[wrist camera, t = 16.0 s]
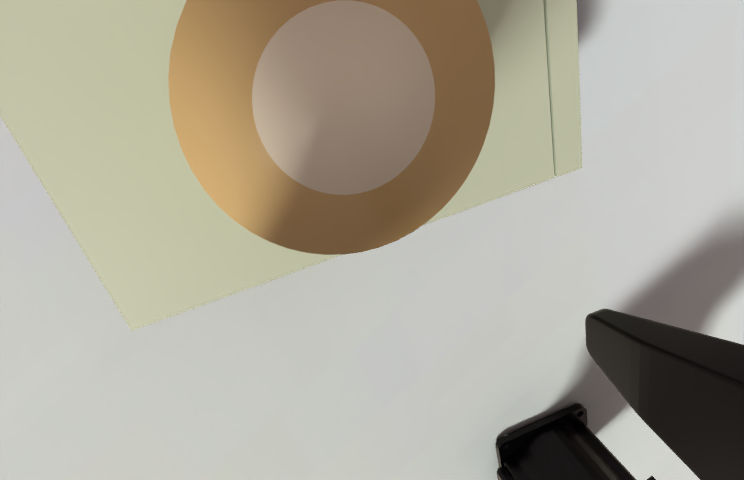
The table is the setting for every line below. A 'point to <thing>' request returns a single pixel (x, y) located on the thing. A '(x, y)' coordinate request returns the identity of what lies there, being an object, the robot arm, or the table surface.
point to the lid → (170, 168)
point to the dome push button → (331, 113)
